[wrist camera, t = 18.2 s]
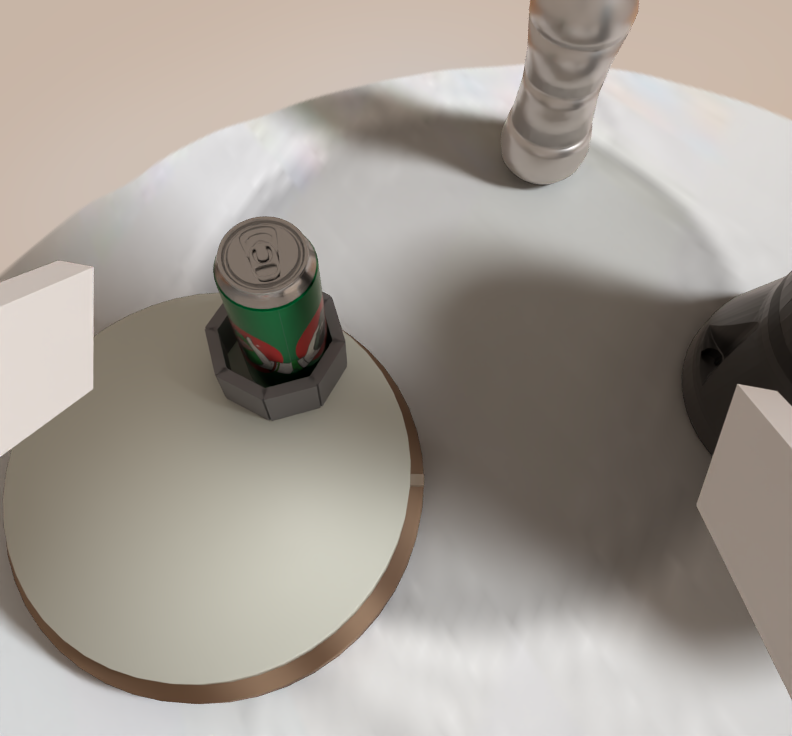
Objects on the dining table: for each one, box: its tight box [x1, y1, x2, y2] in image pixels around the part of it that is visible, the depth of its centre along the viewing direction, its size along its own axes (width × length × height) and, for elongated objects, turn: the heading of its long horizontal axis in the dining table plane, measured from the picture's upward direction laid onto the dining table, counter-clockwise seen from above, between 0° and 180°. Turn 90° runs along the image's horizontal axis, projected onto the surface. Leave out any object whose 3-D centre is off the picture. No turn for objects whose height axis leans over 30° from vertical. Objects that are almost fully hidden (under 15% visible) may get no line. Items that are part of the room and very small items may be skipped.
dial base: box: [6, 330, 424, 704], centre depth 46 cm, size 25×25×2 cm
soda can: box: [213, 216, 329, 388], centre depth 41 cm, size 5×5×12 cm
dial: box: [3, 292, 411, 685], centre depth 43 cm, size 25×23×5 cm
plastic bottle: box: [501, 0, 639, 184], centre depth 50 cm, size 6×7×20 cm
